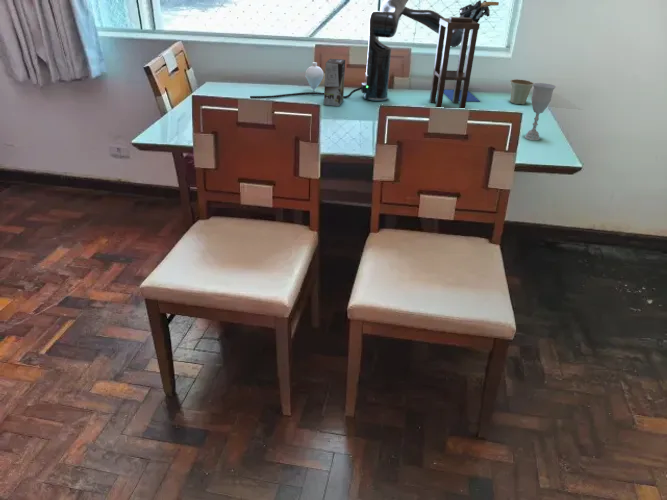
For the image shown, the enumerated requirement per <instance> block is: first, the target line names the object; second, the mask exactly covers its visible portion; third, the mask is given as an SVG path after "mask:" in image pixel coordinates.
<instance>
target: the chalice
mask: <svg viewBox="0 0 667 500" xmlns="http://www.w3.org/2000/svg"><path fill="white" fill-rule="evenodd" d="M533 83H534V84H533V86H532V88H533V90H532V95H531V99H530V100H531V106H532V110H533V112H534V113H535V116H534V118H533V119H534V120H533V123H532V128H531V130H528V131H527V133H526V135H524V138H525V139H526V140H530V141H539V140H540V139H541V138H540V134H539V131H537V126H538V125H539V124H538V122H539V120H540V118H539V117H540V114H542V113H544V111H545V110H546V109H547V108H548V106H549V105H550V103H551V101H552V96H553V93H554V90H555V88H556V85H554V84H552V83H544V82H533Z"/></svg>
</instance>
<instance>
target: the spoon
mask: <svg viewBox="0 0 667 500" xmlns="http://www.w3.org/2000/svg"><path fill="white" fill-rule="evenodd" d="M499 4H500V3H499V1H486V2H484V3H483V2H481V6H480V7H487V6H488V7H492V6H494V7H495V6H499ZM480 7H479V8H480Z"/></svg>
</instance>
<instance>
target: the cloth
mask: <svg viewBox="0 0 667 500" xmlns="http://www.w3.org/2000/svg"><path fill="white" fill-rule="evenodd" d="M461 91H462V89H460V95H459V101H458V102H460V97H461ZM453 94H454V89H444V94H443V95H445V96H446V97H447V98H448V99H449V100H450V101H451V102H452V100H453ZM467 102H470V103H471V102H473V103H480V100H479V98H477V97H476V96H475V95H474V94H473V93H471V92H470V91H469V90H468V94H467V100H466V103H467Z"/></svg>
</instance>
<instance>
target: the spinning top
mask: <svg viewBox="0 0 667 500" xmlns="http://www.w3.org/2000/svg"><path fill="white" fill-rule="evenodd" d="M304 76H305V79H306V82H307V84H308V86H309V87H310V88H311V89H312V90H313V91H312V92H315V90H317V88H318V87H319V86H320V85H321V83H322V80H323V79H324V77H325V72H324V70H323V69H322V68H321V67H320V66H318V62H317V61H316V62H315V61H313V62H312V65H311V66H309V67H308V68H306V70H305V72H304Z"/></svg>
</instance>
